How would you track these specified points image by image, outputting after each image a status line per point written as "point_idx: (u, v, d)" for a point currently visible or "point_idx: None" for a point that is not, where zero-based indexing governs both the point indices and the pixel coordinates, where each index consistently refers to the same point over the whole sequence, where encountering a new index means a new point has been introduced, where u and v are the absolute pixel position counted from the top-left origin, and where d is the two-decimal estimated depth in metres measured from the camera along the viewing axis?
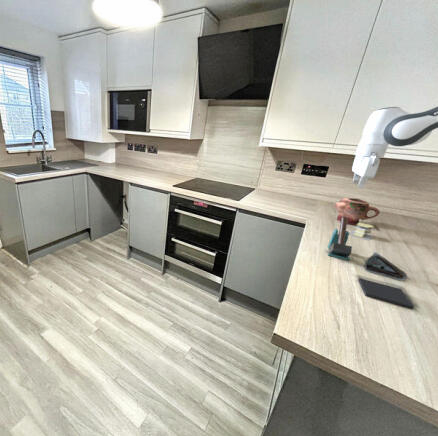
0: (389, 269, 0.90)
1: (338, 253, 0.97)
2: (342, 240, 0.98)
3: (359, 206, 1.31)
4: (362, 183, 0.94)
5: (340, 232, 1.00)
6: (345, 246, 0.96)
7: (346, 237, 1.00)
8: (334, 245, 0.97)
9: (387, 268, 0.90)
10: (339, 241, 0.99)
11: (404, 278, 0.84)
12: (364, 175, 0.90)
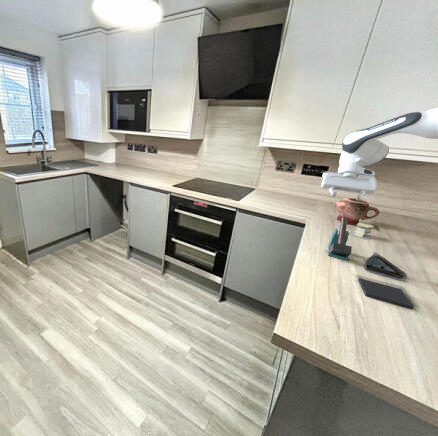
0: (389, 269, 0.90)
1: (338, 253, 0.97)
2: (342, 240, 0.98)
3: (359, 206, 1.31)
4: (331, 192, 1.11)
5: (340, 232, 1.00)
6: (345, 246, 0.96)
7: (346, 237, 1.00)
8: (334, 245, 0.97)
9: (387, 268, 0.90)
10: (339, 241, 0.99)
11: (404, 278, 0.84)
12: (321, 186, 1.15)
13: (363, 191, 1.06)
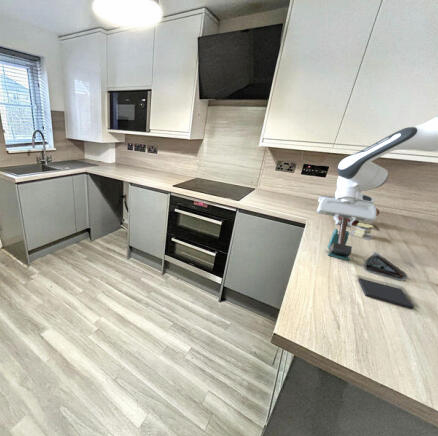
0: (389, 269, 0.90)
1: (338, 253, 0.97)
2: (342, 240, 0.98)
3: None
4: (336, 220, 1.03)
5: (340, 232, 1.00)
6: (345, 246, 0.96)
7: (346, 237, 1.00)
8: (334, 245, 0.97)
9: (387, 268, 0.90)
10: (339, 241, 0.99)
11: (404, 278, 0.84)
12: (317, 211, 1.09)
13: (353, 217, 1.01)
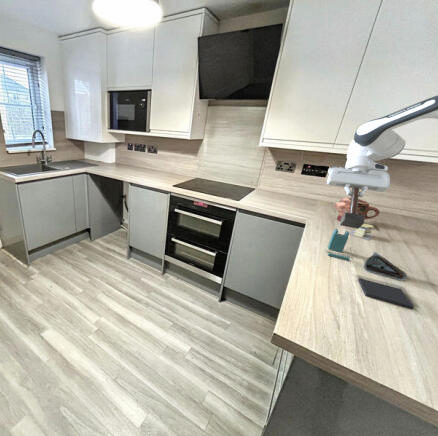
0: (389, 269, 0.90)
1: (350, 223, 0.92)
2: (354, 210, 0.93)
3: (359, 206, 1.31)
4: (347, 190, 0.98)
5: (352, 202, 0.95)
6: (357, 215, 0.91)
7: (346, 237, 1.00)
8: (346, 215, 0.92)
9: (387, 268, 0.90)
10: (350, 211, 0.94)
11: (404, 278, 0.84)
12: None
13: (365, 187, 0.96)
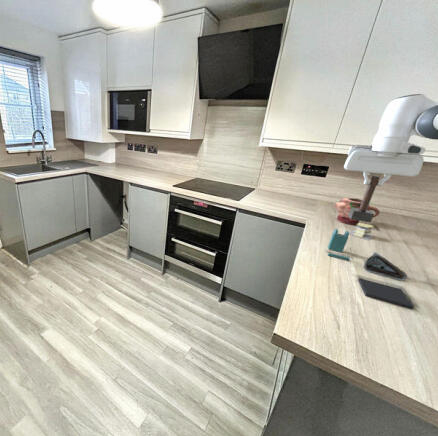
0: (389, 269, 0.90)
1: None
2: (366, 205, 0.89)
3: (359, 206, 1.31)
4: (365, 179, 0.88)
5: (366, 195, 0.89)
6: (366, 214, 0.89)
7: (346, 237, 1.00)
8: (353, 214, 0.91)
9: (387, 268, 0.90)
10: (361, 206, 0.90)
11: (404, 278, 0.84)
12: (344, 166, 0.91)
13: (387, 175, 0.84)
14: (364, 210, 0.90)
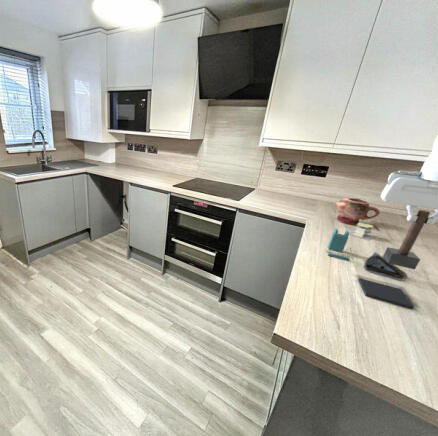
0: (389, 269, 0.90)
1: None
2: (409, 247, 0.69)
3: (359, 206, 1.31)
4: (409, 214, 0.68)
5: (410, 234, 0.69)
6: (409, 259, 0.69)
7: (346, 237, 1.00)
8: (392, 257, 0.71)
9: (387, 268, 0.90)
10: (402, 248, 0.70)
11: (404, 278, 0.84)
12: (381, 196, 0.71)
13: None
14: (406, 253, 0.70)
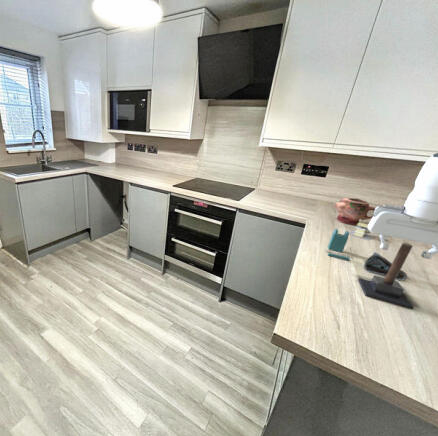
0: None
1: None
2: (393, 277, 0.73)
3: (359, 206, 1.31)
4: (382, 242, 0.73)
5: (394, 266, 0.72)
6: (394, 289, 0.73)
7: (346, 237, 1.00)
8: (378, 286, 0.75)
9: (387, 268, 0.90)
10: (387, 277, 0.74)
11: (404, 278, 0.84)
12: None
13: None
14: (391, 282, 0.74)
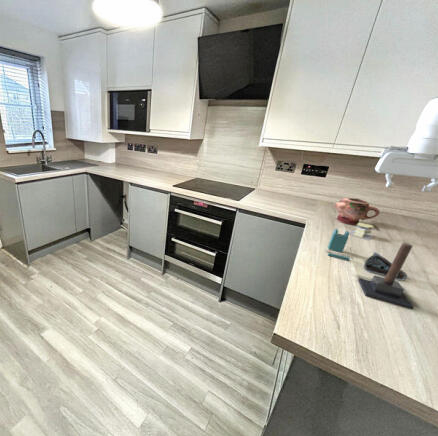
0: None
1: None
2: (393, 277, 0.73)
3: (359, 206, 1.31)
4: (387, 181, 0.84)
5: (394, 266, 0.72)
6: (394, 289, 0.73)
7: (346, 237, 1.00)
8: (378, 286, 0.75)
9: (387, 268, 0.90)
10: (387, 277, 0.74)
11: (404, 278, 0.84)
12: (375, 169, 0.86)
13: (436, 180, 0.78)
14: (391, 282, 0.74)
